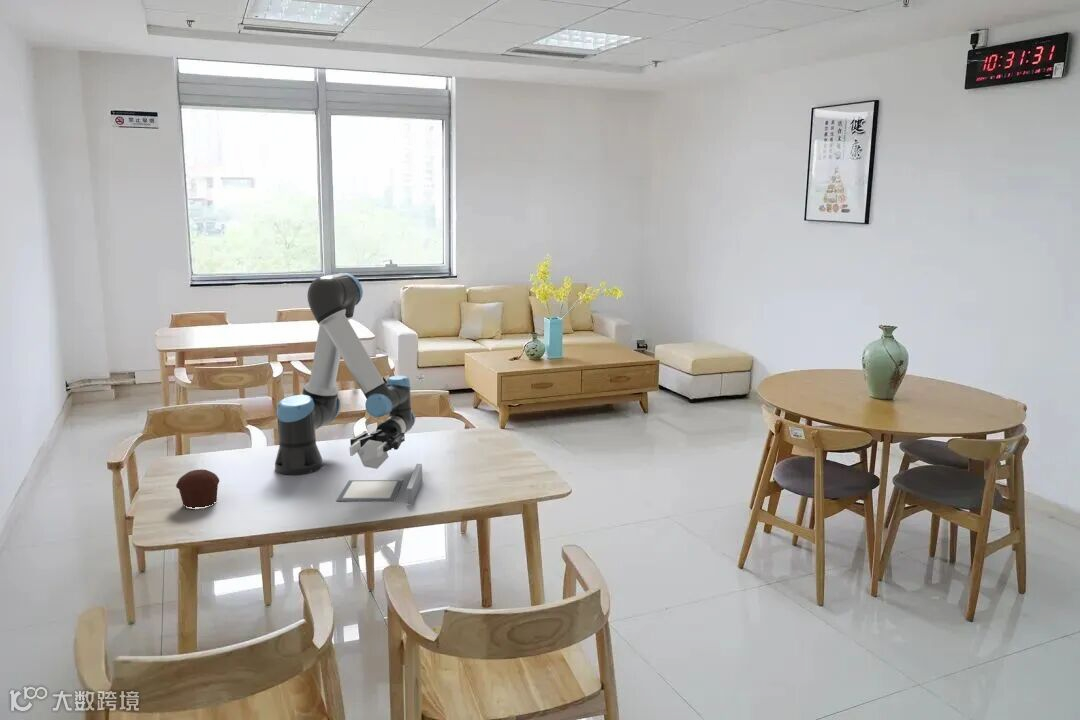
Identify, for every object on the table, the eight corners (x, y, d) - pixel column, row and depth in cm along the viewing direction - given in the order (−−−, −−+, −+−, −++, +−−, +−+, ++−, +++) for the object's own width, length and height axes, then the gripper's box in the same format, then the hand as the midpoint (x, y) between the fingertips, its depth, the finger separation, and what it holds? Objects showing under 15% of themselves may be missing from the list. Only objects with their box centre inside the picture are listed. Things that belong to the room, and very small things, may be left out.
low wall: (407, 504, 233) (406, 488, 232) (417, 478, 255) (416, 463, 254) (412, 504, 233) (412, 488, 232) (422, 478, 255) (421, 463, 254)
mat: (336, 501, 235) (336, 499, 235) (349, 481, 252) (348, 479, 252) (394, 501, 235) (393, 499, 235) (402, 481, 252) (402, 479, 252)
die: (363, 463, 246) (349, 444, 240) (387, 447, 248) (373, 428, 241) (372, 479, 240) (358, 460, 234) (396, 463, 242) (383, 444, 235)
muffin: (215, 494, 241) (213, 462, 239) (226, 505, 232) (223, 472, 230) (173, 502, 234) (170, 470, 232) (182, 514, 225) (179, 481, 223)
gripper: (421, 442, 257) (398, 465, 235) (361, 440, 260) (332, 462, 238) (420, 420, 256) (397, 441, 234) (359, 418, 259) (330, 438, 237)
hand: (364, 452), depth 236 cm, fingers closed on die, 8 cm apart
